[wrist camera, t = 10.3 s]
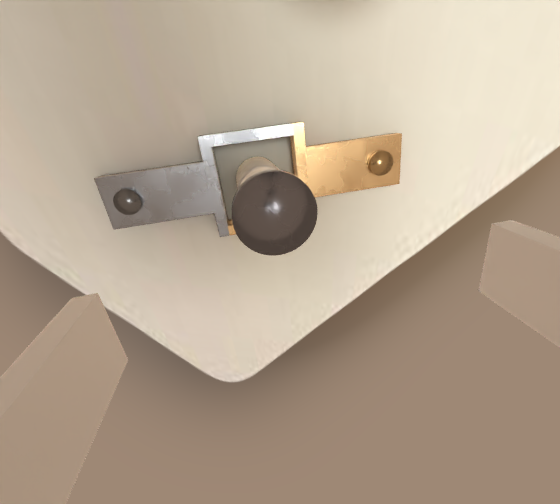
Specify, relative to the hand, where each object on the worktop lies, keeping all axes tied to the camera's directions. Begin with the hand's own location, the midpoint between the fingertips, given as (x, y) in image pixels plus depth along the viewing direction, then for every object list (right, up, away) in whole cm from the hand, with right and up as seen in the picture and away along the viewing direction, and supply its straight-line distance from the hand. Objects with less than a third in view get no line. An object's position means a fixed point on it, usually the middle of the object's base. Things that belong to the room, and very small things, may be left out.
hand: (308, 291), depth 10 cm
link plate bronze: (+2, +10, +21) cm, 23 cm away
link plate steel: (-9, +8, +20) cm, 23 cm away
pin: (-3, +9, +20) cm, 22 cm away
